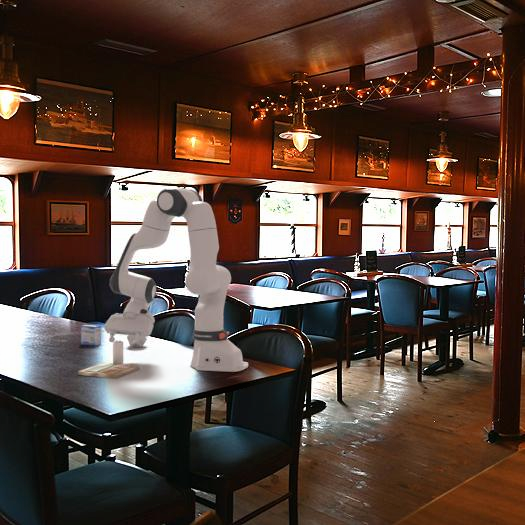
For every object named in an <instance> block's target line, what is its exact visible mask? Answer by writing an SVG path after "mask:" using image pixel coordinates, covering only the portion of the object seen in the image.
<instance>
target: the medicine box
mask: <svg viewBox="0 0 525 525" xmlns="http://www.w3.org/2000/svg"><path fill="white" fill-rule="evenodd" d="M80 337H81V339H80V341H81V345H82V346H83V345H84V346H100V345H101V344H102V326H101V325H95V324H83V325H81V336H80Z"/></svg>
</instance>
